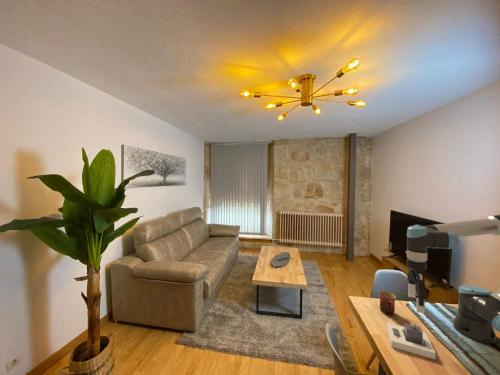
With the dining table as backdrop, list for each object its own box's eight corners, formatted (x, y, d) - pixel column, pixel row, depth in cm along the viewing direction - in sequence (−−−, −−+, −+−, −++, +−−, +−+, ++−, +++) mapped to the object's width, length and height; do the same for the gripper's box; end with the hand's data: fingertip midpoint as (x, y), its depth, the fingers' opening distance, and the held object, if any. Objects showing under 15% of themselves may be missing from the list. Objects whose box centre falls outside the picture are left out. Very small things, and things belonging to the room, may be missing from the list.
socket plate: (424, 337, 103) (424, 330, 103) (435, 359, 90) (435, 351, 90) (386, 328, 110) (386, 321, 110) (391, 346, 97) (391, 339, 97)
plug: (419, 341, 100) (419, 323, 100) (422, 347, 96) (422, 329, 96) (403, 337, 103) (404, 320, 102) (406, 343, 99) (406, 325, 98)
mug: (375, 306, 129) (376, 290, 129) (391, 308, 127) (392, 291, 127) (384, 319, 117) (384, 301, 117) (401, 321, 115) (402, 302, 115)
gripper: (400, 250, 111) (400, 290, 112) (414, 268, 89) (413, 317, 89) (418, 252, 108) (417, 293, 109) (437, 271, 86) (436, 322, 86)
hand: (415, 304), depth 99 cm, fingers open, 13 cm apart
